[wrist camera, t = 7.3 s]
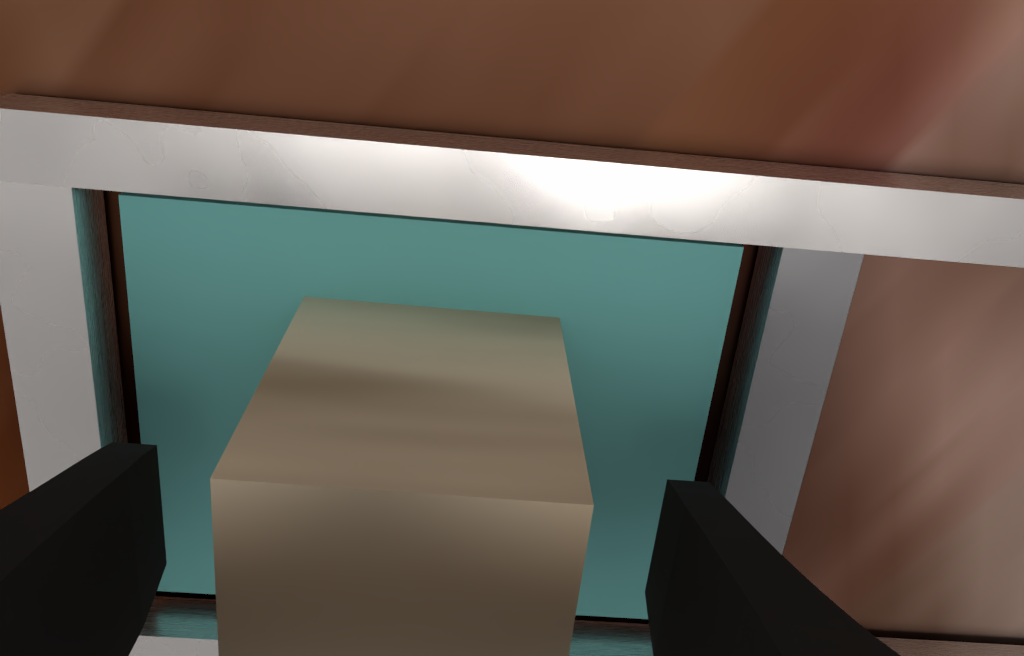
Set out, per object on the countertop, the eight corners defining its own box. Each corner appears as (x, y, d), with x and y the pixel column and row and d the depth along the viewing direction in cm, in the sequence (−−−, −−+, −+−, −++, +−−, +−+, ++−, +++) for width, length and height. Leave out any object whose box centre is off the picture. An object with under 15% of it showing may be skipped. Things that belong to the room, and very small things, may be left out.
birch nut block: (531, 524, 15) (549, 770, 11) (303, 509, 15) (223, 754, 11) (559, 317, 14) (593, 504, 9) (304, 296, 14) (210, 478, 9)
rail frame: (1262, 697, 18) (1304, 738, 17) (81, 633, 16) (58, 673, 16) (1542, 231, 14) (1617, 252, 13) (7, 93, 12) (-30, 105, 11)
